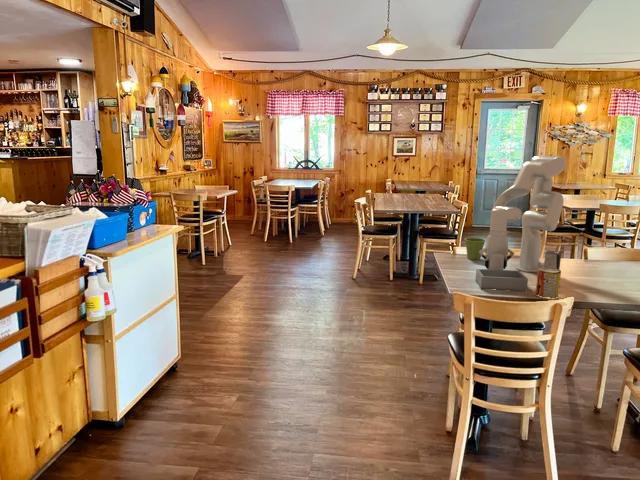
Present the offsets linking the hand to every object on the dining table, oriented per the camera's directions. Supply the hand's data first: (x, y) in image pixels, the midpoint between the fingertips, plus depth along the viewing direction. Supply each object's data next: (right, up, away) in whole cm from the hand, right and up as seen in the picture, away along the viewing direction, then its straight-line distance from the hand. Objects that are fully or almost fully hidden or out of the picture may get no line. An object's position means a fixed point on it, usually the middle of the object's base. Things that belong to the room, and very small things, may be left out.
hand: (495, 267), depth 233 cm
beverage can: (+12, -11, -27) cm, 32 cm away
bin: (-3, -8, -13) cm, 15 cm away
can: (0, -4, +1) cm, 4 cm away
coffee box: (+22, -8, -10) cm, 25 cm away
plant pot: (+2, +3, +40) cm, 40 cm away
